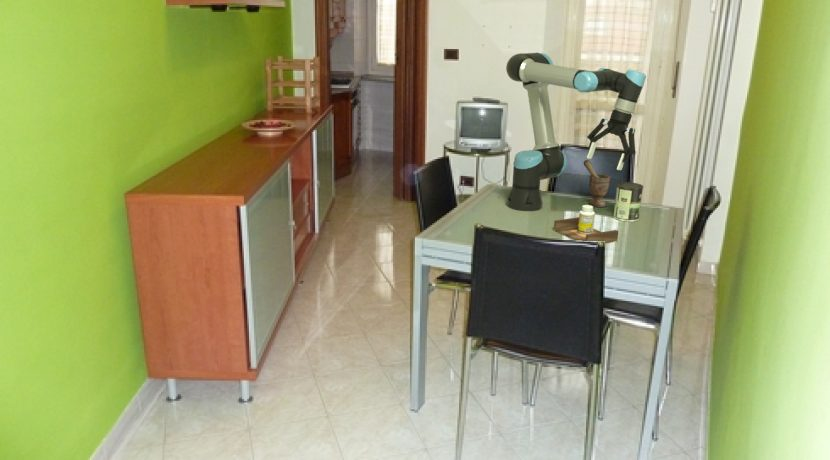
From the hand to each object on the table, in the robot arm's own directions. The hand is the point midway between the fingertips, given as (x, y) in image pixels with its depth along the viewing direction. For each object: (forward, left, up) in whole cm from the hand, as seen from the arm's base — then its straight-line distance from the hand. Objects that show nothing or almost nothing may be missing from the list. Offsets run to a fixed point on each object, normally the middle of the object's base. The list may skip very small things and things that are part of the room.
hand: (603, 164), depth 260 cm
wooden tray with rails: (+4, -20, -24) cm, 31 cm away
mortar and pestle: (-11, +22, -24) cm, 34 cm away
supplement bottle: (+4, -20, -23) cm, 31 cm away
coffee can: (+7, +13, -24) cm, 28 cm away
